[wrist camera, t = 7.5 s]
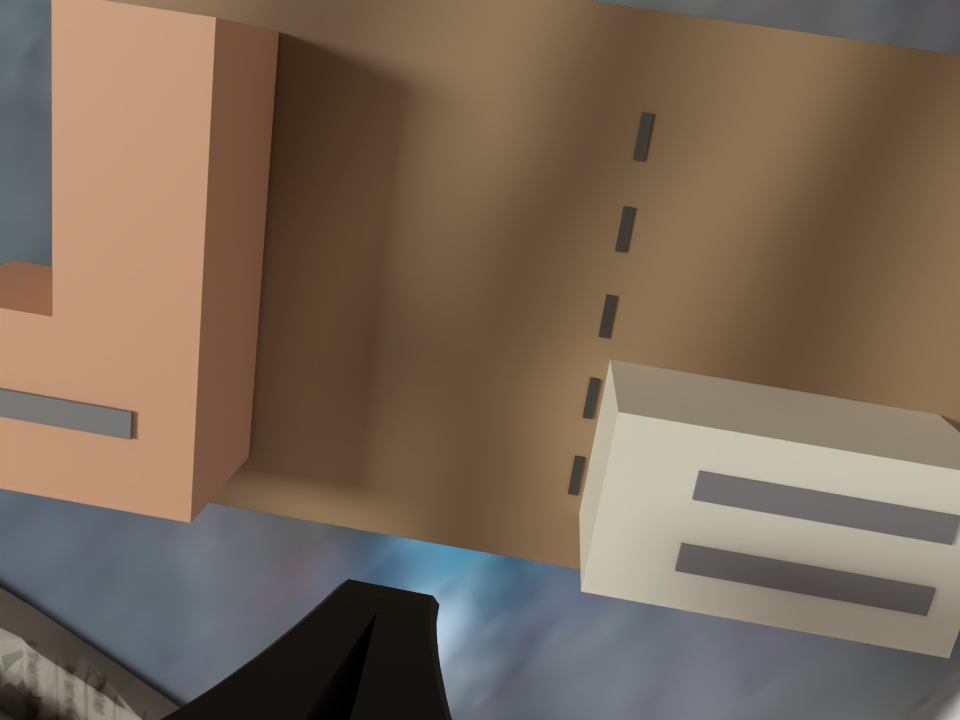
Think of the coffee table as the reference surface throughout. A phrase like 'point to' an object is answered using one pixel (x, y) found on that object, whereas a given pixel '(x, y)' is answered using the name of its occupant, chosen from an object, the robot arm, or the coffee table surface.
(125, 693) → the packaged product
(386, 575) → the coffee table surface
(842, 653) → the coffee table surface
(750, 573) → the white toaster
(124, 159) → the block
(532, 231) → the board
